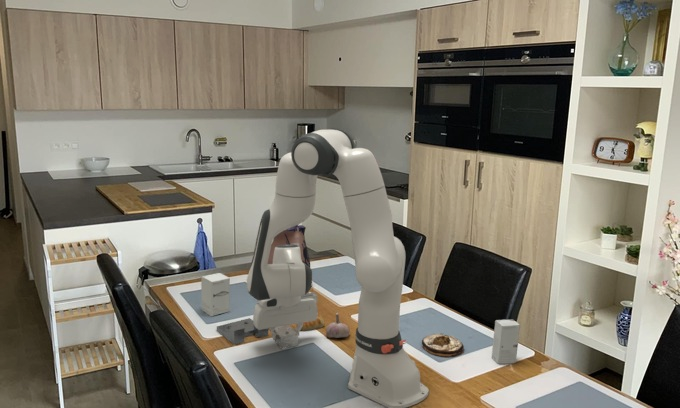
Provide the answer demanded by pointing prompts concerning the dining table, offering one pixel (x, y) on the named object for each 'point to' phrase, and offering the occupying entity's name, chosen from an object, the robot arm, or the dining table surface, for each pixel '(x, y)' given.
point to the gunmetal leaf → (240, 330)
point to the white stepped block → (286, 337)
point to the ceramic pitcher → (291, 242)
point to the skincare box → (505, 341)
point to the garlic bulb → (337, 329)
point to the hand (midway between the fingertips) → (285, 337)
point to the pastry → (313, 324)
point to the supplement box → (215, 294)
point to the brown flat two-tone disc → (442, 345)
